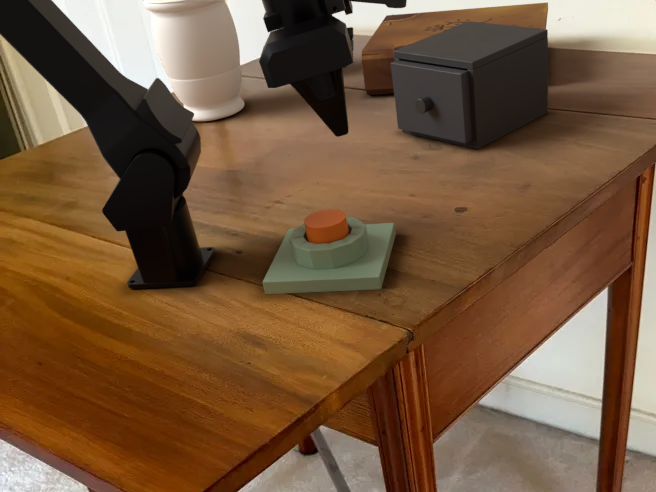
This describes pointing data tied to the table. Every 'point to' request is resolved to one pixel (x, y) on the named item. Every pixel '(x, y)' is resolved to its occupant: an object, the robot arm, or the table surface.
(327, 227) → the button
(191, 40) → the jar
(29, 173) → the table surface
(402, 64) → the dark grey drawer
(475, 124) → the grey drawer box
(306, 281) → the panel
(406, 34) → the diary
